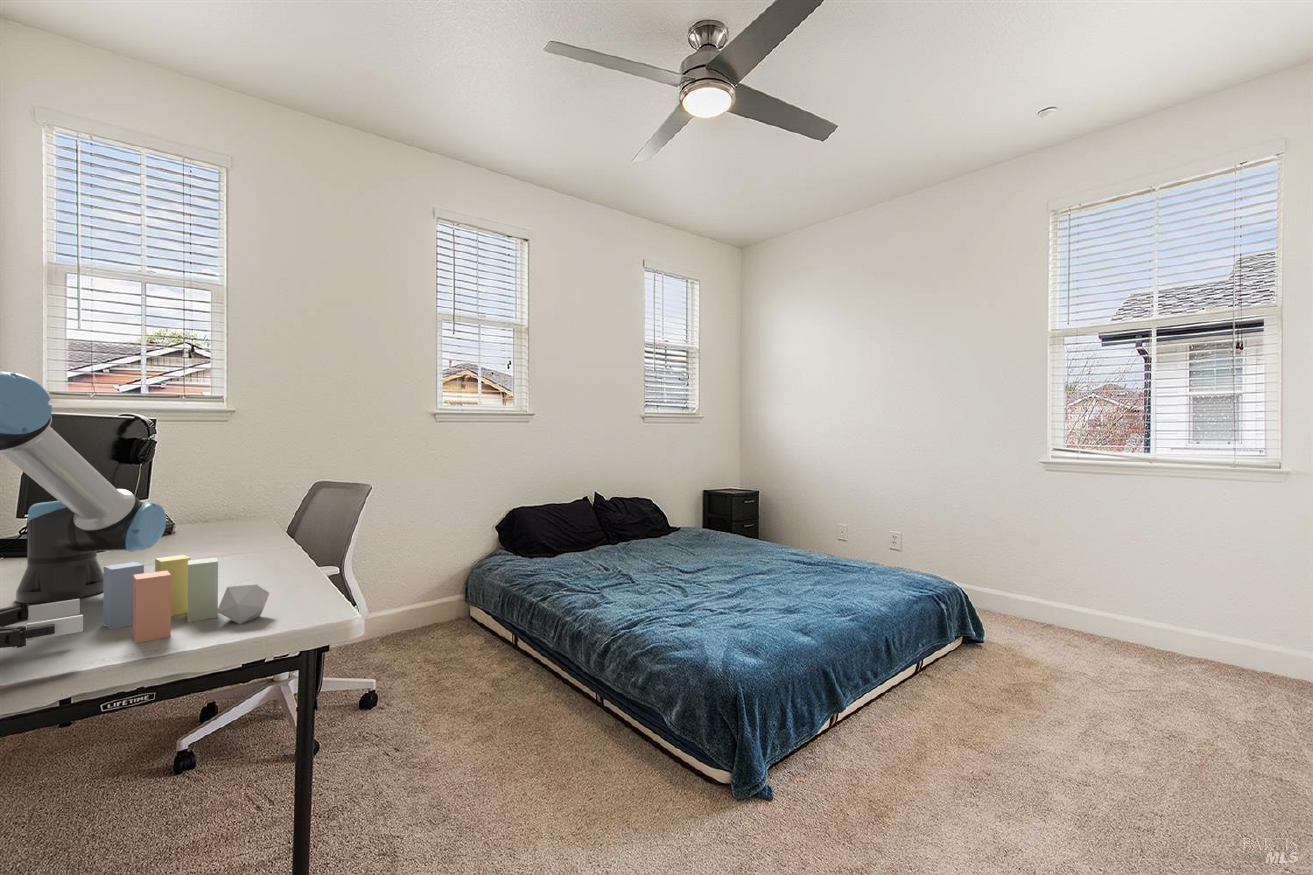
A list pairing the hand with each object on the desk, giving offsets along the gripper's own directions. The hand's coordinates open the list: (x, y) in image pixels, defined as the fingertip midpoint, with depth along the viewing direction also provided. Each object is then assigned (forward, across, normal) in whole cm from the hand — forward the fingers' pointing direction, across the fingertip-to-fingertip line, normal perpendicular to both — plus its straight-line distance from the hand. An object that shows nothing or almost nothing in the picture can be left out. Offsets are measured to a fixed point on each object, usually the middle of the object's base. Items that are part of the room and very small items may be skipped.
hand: (81, 614), depth 103 cm
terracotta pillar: (+10, 0, -6) cm, 12 cm away
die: (+24, +1, -7) cm, 25 cm away
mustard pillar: (+15, -16, -6) cm, 23 cm away
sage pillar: (+19, -8, -6) cm, 21 cm away
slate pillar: (+7, -14, -6) cm, 17 cm away
